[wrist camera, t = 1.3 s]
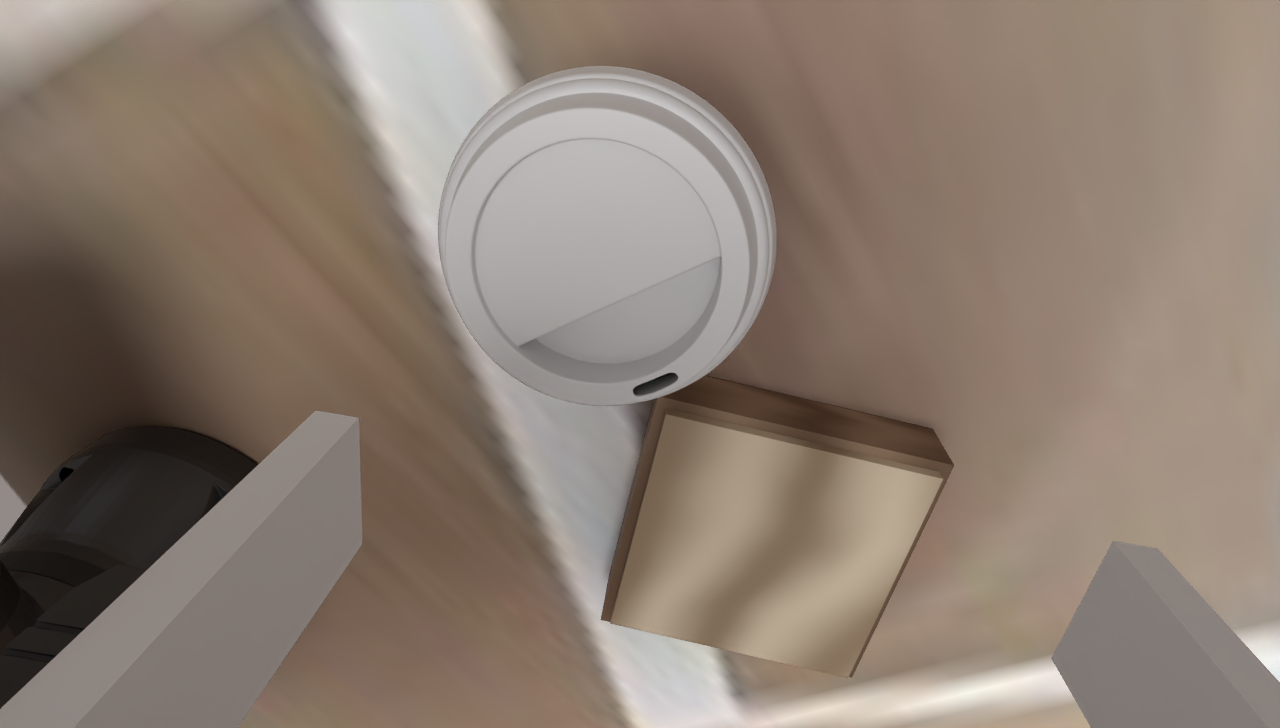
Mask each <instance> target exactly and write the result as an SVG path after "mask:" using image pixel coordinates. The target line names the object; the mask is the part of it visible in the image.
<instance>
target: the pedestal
mask: <svg viewBox="0 0 1280 728" xmlns="http://www.w3.org/2000/svg"><path fill="white" fill-rule="evenodd" d="M953 467H954V464H953V463H952V461H951V459H950V458H949V456H948V454H947V452H946V451H945V449H944V447H943V446H942V444H941V442H940V441H939V439H938V437H937V435H936V434H935V432H934V430H933V429H930V428H926V427H922V426H917V425H913V424H909V423H905V422H900V421H896V420H892V419H888V418H883V417H879V416H875V415H870V414H866V413H862V412H858V411H853V410H849V409H845V408H841V407H836V406H832V405H828V404H824V403H819V402H815V401H811V400H806V399H802V398H798V397H794V396H789V395H785V394H781V393H777V392H772V391H768V390H764V389H760V388H755V387H751V386H747V385H743V384H738V383H734V382H730V381H725V380H721V379H717V378H713V377H708V376H703V377H702V378H700V379H699V380H697V381H695V382H693V383H692V384H690V385H688V386H686V387H684V388H682V389H680V390H678V391H675V392H673V393H670V394H668V395H665V396H662V397H659V398H656V399H654V402H653V406H652V410H651V414H650V418H649V422H648V425H647V429H646V433H645V437H644V441H643V445H642V449H641V453H640V457H639V461H638V465H637V469H636V472H635V476H634V480H633V484H632V488H631V492H630V496H629V500H628V504H627V508H626V512H625V516H624V519H623V523H622V527H621V531H620V535H619V539H618V543H617V547H616V551H615V555H614V559H613V563H612V566H611V570H610V574H609V579H608V584H607V590H606V595H605V600H604V606H603V611H602V617H601V620H604V621H608V622H611V624H615V625H620V626H624V627H628V628H633V629H637V630H641V631H646V632H650V633H654V634H659V635H663V636H667V637H672V638H676V639H680V640H685V641H689V642H693V643H698V644H702V645H707V646H711V647H715V648H720V649H724V650H728V651H733V652H737V653H741V654H746V655H750V656H754V657H759V658H763V659H767V660H772V661H776V662H780V663H785V664H789V665H793V666H798V667H802V668H806V669H811V670H815V671H820V672H824V673H828V674H833V675H837V676H841V677H846V678H848V677H852V676H853V674H854V672H855V670H856V668H857V666H858V664H859V662H860V660H861V658H862V655H863V653H864V651H865V649H866V647H867V645H868V643H869V641H870V639H871V637H872V635H873V633H874V631H875V629H876V626H877V624H878V622H879V620H880V618H881V616H882V614H883V612H884V610H885V608H886V606H887V604H888V602H889V600H890V597H891V595H892V593H893V591H894V589H895V587H896V585H897V583H898V581H899V579H900V577H901V575H902V573H903V570H904V568H905V566H906V564H907V562H908V560H909V558H910V556H911V554H912V552H913V550H914V548H915V546H916V544H917V541H918V539H919V537H920V535H921V533H922V531H923V529H924V527H925V525H926V523H927V521H928V519H929V517H930V515H931V512H932V510H933V508H934V506H935V504H936V502H937V500H938V498H939V496H940V494H941V492H942V490H943V488H944V485H945V483H946V481H947V479H948V477H949V475H950V473H951V471H952V469H953Z"/></svg>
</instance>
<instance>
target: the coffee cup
mask: <svg viewBox="0 0 1280 728" xmlns="http://www.w3.org/2000/svg"><path fill="white" fill-rule="evenodd" d="M438 241H439V252H440V258H441V264H442V268H443V273H444V277H445V280H446V284H447V287H448V290H449V292H450V295H451V297H452V300H453V302H454V304H455V306H456V308H457V310H458V312H459V314H460V316H461V318H462V320H463V322H464V323H465V325H466V327H467V329H468V330H469V332H470V333H471V335H472V336H473V338H474V339H475V340H476V342H477V343H478V344H479V345H480V347H481V348H482V349H483V350H484V351H485V353H486V354H487V355H488V356H489V357H490V358H491V359H492V360H493V361H494V362H495V363H496V364H498V365H499V366H500V367H501V368H502V369H503V370H505V371H506V372H507V373H509V374H510V375H511V376H513V377H514V378H516V379H517V380H519V381H520V382H522V383H524V384H525V385H527V386H529V387H531V388H533V389H535V390H537V391H539V392H541V393H544V394H546V395H549V396H551V397H554V398H557V399H561V400H564V401H568V402H573V403H578V404H584V405H594V406H616V405H626V404H632V403H637V402H643V401H648V400H652V399H656V398H659V397H662V396H665V395H668V394H670V393H673V392H675V391H678V390H680V389H682V388H684V387H686V386H688V385H690V384H692V383H693V382H695V381H697V380H699V379H700V378H702V377H703V376H705V375H706V374H708V373H709V372H710V371H712V370H713V369H714V368H715V367H717V366H718V365H719V364H720V363H721V362H722V361H723V360H725V359H726V358H727V357H728V356H729V355H730V354H731V352H732V351H733V350H734V349H735V348H736V347H737V346H738V344H739V343H740V342H741V341H742V339H743V338H744V336H745V335H746V334H747V332H748V331H749V329H750V328H751V326H752V325H753V323H754V321H755V320H756V318H757V316H758V314H759V312H760V310H761V308H762V306H763V304H764V301H765V299H766V296H767V293H768V290H769V287H770V284H771V280H772V276H773V272H774V266H775V259H776V246H777V233H776V220H775V213H774V208H773V203H772V199H771V195H770V191H769V188H768V185H767V182H766V180H765V177H764V174H763V172H762V170H761V168H760V166H759V164H758V162H757V160H756V158H755V156H754V154H753V153H752V151H751V149H750V148H749V146H748V145H747V143H746V142H745V140H744V139H743V138H742V136H741V135H740V134H739V132H738V131H737V130H736V129H735V128H734V126H733V125H732V124H731V123H730V122H729V121H728V120H727V119H726V118H725V117H724V116H723V115H722V114H721V113H720V112H719V111H718V110H717V109H715V108H714V107H713V106H712V105H711V104H709V103H708V102H707V101H705V100H704V99H703V98H701V97H700V96H698V95H697V94H695V93H693V92H692V91H690V90H688V89H687V88H685V87H683V86H681V85H679V84H677V83H675V82H673V81H671V80H668V79H666V78H663V77H661V76H658V75H655V74H652V73H648V72H645V71H641V70H636V69H631V68H624V67H615V66H588V67H579V68H572V69H567V70H563V71H558V72H555V73H552V74H549V75H546V76H543V77H540V78H538V79H535V80H533V81H531V82H529V83H527V84H525V85H523V86H521V87H520V88H518V89H516V90H514V91H513V92H511V93H510V94H508V95H507V96H506V97H504V98H503V99H502V100H500V101H499V102H498V103H497V104H495V105H494V106H493V107H492V108H491V109H490V110H489V111H488V112H487V113H486V114H485V115H484V116H483V117H482V118H481V119H480V120H479V121H478V122H477V124H476V125H475V126H474V127H473V129H472V130H471V131H470V133H469V134H468V136H467V137H466V139H465V140H464V142H463V143H462V145H461V147H460V149H459V150H458V152H457V154H456V156H455V159H454V161H453V163H452V166H451V168H450V171H449V174H448V177H447V180H446V183H445V186H444V189H443V194H442V198H441V203H440V210H439V220H438Z"/></svg>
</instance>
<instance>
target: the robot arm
mask: <svg viewBox="0 0 1280 728" xmlns="http://www.w3.org/2000/svg"><path fill="white" fill-rule="evenodd" d="M361 545H362V510H361V475H360V440H359V418H358V417H352V416H346V415H339V414H333V413H327V412H321V411H315V412H313V413H312V414H311V415H310V416H309V417H308V418H307V419H306V420H305V421H304V422H303V423H302V424H301V425H300V426H299V427H298V428H297V429H295V430H294V431H293V432H292V433H291V434H290V435H289V436H288V437H287V438H286V439H285V440H284V441H283V442H282V443H281V444H280V445H279V446H278V447H276V448H275V449H274V450H273V451H272V452H271V453H270V454H269V455H268V456H267V457H266V458H265V459H264V460H263V461H262V462H261V463H260V464H259V465H256V464H254V463H253V462H252V461H250V460H249V459H247V458H246V457H244V456H243V455H241V454H240V453H238V452H236V451H235V450H233V449H231V448H229V447H227V446H225V445H223V444H221V443H219V442H217V441H215V440H212V439H210V438H207V437H205V436H202V435H199V434H196V433H192V432H188V431H185V430H180V429H175V428H168V427H156V426H143V427H133V428H127V429H123V430H119V431H116V432H112V433H110V434H108V435H105V436H103V437H101V438H100V439H98V440H96V441H95V442H93V443H92V444H90V445H89V446H87V447H86V448H84V449H82V450H81V451H79V452H78V453H76V454H75V455H73V456H72V457H70V458H69V459H67V460H66V461H65V462H64V463H63V464H61V465H60V466H59V467H58V468H57V469H56V470H55V471H54V472H53V473H52V474H51V475H50V477H49V478H48V479H47V481H46V482H45V483H44V485H43V486H42V488H41V490H40V491H39V493H38V494H37V495H36V496H35V497H34V498H33V500H32V501H31V502H30V504H29V505H28V506H27V508H26V509H25V510H24V512H23V513H22V514H21V516H20V517H19V518H18V520H17V521H16V523H15V524H14V525H13V527H12V528H11V529H10V531H9V532H8V533H7V535H6V536H5V537H4V539H3V540H2V542H1V543H0V728H238V726H239V725H240V723H241V722H242V721H243V719H244V718H245V716H246V715H247V713H248V712H249V710H250V709H251V707H252V706H253V704H254V703H255V701H256V700H257V698H258V697H259V695H260V694H261V693H262V691H263V690H264V688H265V687H266V685H267V684H268V682H269V681H270V679H271V678H272V676H273V675H274V673H275V672H276V670H277V669H278V668H279V666H280V665H281V663H282V662H283V660H284V659H285V657H286V656H287V654H288V653H289V651H290V650H291V648H292V647H293V645H294V644H295V642H296V641H297V640H298V638H299V637H300V635H301V634H302V632H303V631H304V629H305V628H306V626H307V625H308V623H309V622H310V620H311V619H312V617H313V616H314V615H315V613H316V612H317V610H318V609H319V607H320V606H321V604H322V603H323V601H324V600H325V598H326V597H327V595H328V594H329V592H330V591H331V589H332V588H333V587H334V585H335V584H336V582H337V581H338V579H339V578H340V576H341V575H342V573H343V572H344V570H345V569H346V567H347V566H348V564H349V563H350V562H351V560H352V559H353V557H354V556H355V554H356V553H357V551H358V550H359V548H360V547H361ZM1052 660H1053V662H1054V664H1055V665H1056V667H1057V669H1058V671H1059V672H1060V674H1061V676H1062V678H1063V679H1064V681H1065V683H1066V685H1067V686H1068V688H1069V690H1070V692H1071V693H1072V695H1073V697H1074V698H1075V700H1076V702H1077V704H1078V705H1079V707H1080V709H1081V711H1082V712H1083V714H1084V716H1085V718H1086V719H1087V721H1088V723H1089V725H1090V726H1091V728H1280V682H1279V681H1278V680H1277V679H1276V678H1275V677H1274V676H1273V675H1272V674H1271V672H1270V671H1269V670H1268V669H1267V668H1266V667H1265V666H1264V665H1263V664H1262V663H1261V662H1260V660H1259V659H1258V658H1257V657H1256V656H1255V655H1254V654H1253V653H1252V652H1251V651H1250V649H1249V648H1248V647H1247V646H1246V645H1245V644H1244V643H1243V642H1242V641H1241V640H1240V638H1239V637H1238V636H1237V635H1236V634H1235V633H1234V632H1233V631H1232V630H1231V629H1230V627H1229V626H1228V625H1227V624H1226V623H1225V622H1224V621H1223V620H1222V619H1221V618H1220V616H1219V615H1218V614H1217V613H1216V612H1215V611H1214V610H1213V609H1212V608H1211V607H1210V605H1209V604H1208V603H1207V602H1206V601H1205V600H1204V599H1203V598H1202V597H1201V596H1200V594H1199V593H1198V592H1197V591H1196V590H1195V589H1194V588H1193V587H1192V586H1191V585H1190V583H1189V582H1188V581H1187V580H1186V579H1185V578H1184V577H1183V576H1182V575H1181V574H1180V572H1179V571H1178V570H1177V569H1176V568H1175V567H1174V566H1173V565H1172V564H1171V563H1170V561H1169V560H1168V559H1167V558H1166V557H1165V556H1164V555H1163V554H1162V553H1161V552H1160V550H1159V549H1158V548H1152V547H1146V546H1140V545H1134V544H1128V543H1121V542H1115V541H1113V542H1112V544H1111V546H1110V548H1109V550H1108V552H1107V553H1106V555H1105V557H1104V559H1103V561H1102V563H1101V565H1100V567H1099V569H1098V571H1097V572H1096V574H1095V576H1094V578H1093V580H1092V582H1091V584H1090V586H1089V588H1088V590H1087V591H1086V593H1085V595H1084V597H1083V599H1082V601H1081V603H1080V605H1079V607H1078V609H1077V611H1076V612H1075V614H1074V616H1073V618H1072V620H1071V622H1070V624H1069V626H1068V628H1067V630H1066V631H1065V633H1064V635H1063V637H1062V639H1061V641H1060V643H1059V645H1058V647H1057V649H1056V650H1055V652H1054V654H1053V656H1052Z"/></svg>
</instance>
